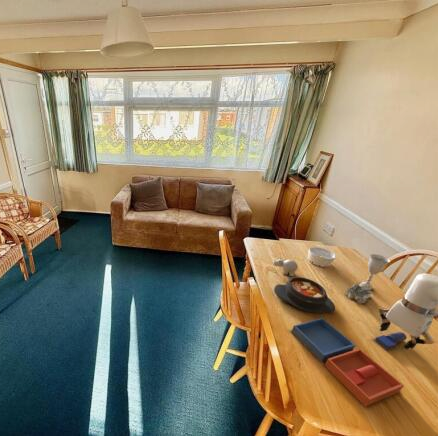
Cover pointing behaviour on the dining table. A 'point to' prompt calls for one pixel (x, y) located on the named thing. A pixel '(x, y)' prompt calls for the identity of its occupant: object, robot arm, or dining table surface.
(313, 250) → the ramekin
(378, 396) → the red bin
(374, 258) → the chalice
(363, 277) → the dining table surface
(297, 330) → the blue bin
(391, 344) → the blue spoon
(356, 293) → the grey rock
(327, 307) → the casserole
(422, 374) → the dining table surface
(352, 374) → the red spoon
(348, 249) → the dining table surface
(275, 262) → the chubby cartoon animal
